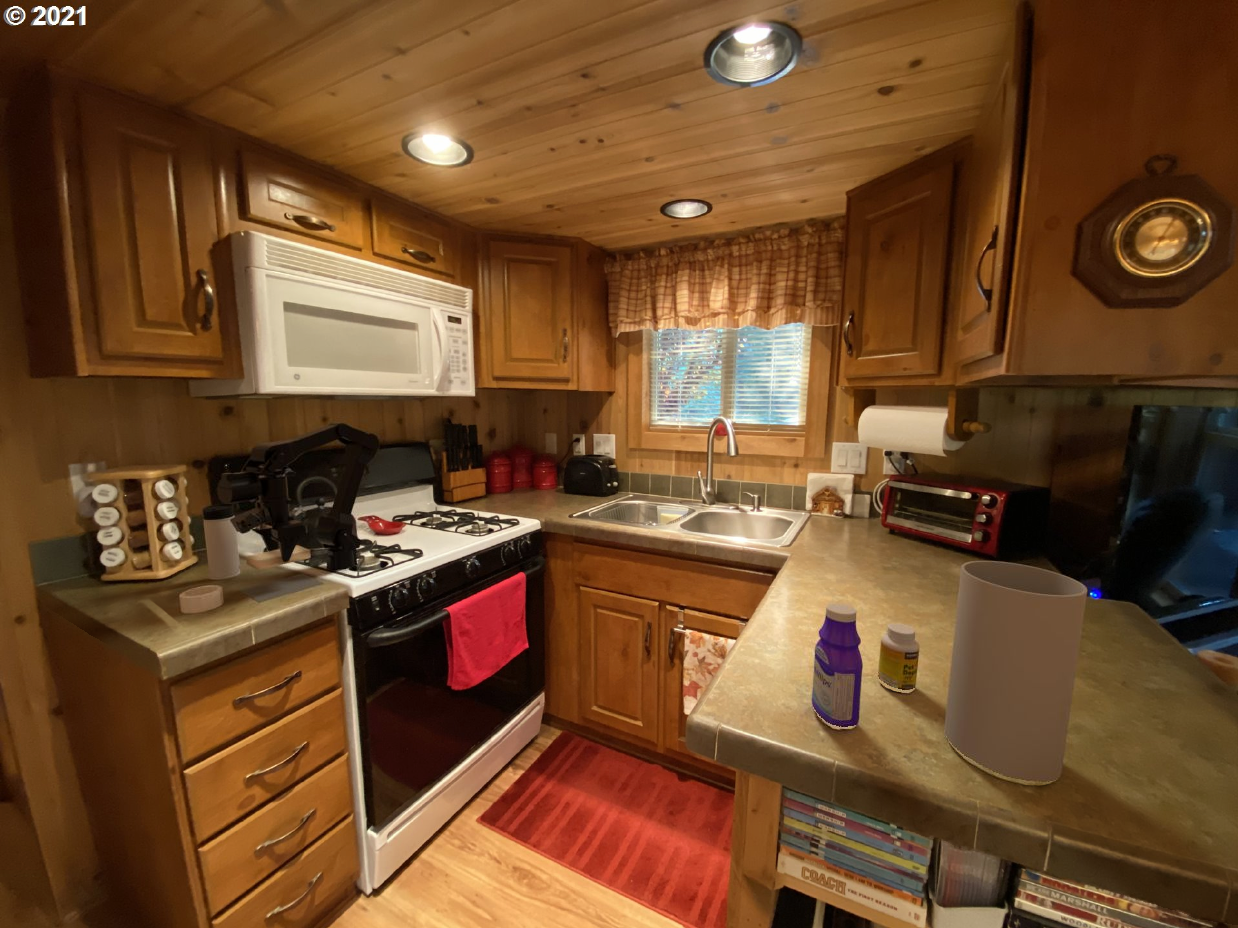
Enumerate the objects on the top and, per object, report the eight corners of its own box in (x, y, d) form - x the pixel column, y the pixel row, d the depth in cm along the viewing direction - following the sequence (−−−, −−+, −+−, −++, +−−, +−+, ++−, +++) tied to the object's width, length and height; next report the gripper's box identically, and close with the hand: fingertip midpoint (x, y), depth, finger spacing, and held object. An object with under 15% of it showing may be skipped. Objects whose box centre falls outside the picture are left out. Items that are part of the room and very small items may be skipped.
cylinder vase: (973, 782, 61) (995, 592, 57) (927, 718, 73) (943, 558, 70) (1087, 796, 59) (1116, 600, 55) (1020, 727, 71) (1041, 563, 67)
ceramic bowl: (217, 601, 113) (215, 582, 113) (228, 608, 109) (226, 589, 109) (177, 612, 107) (175, 592, 107) (188, 620, 103) (185, 600, 103)
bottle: (804, 703, 76) (810, 598, 74) (838, 702, 77) (846, 597, 74) (827, 735, 69) (836, 620, 67) (865, 733, 69) (875, 618, 67)
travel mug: (248, 574, 130) (240, 502, 127) (226, 584, 124) (217, 507, 121) (226, 573, 131) (219, 501, 128) (203, 583, 124) (194, 506, 121)
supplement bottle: (902, 699, 77) (908, 639, 76) (870, 681, 82) (874, 624, 81) (922, 689, 80) (928, 631, 79) (890, 672, 85) (894, 617, 84)
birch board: (297, 552, 125) (297, 545, 124) (310, 557, 121) (310, 549, 121) (247, 564, 116) (246, 556, 115) (259, 570, 112) (258, 561, 112)
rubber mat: (302, 577, 129) (302, 573, 128) (324, 587, 122) (324, 583, 122) (239, 594, 117) (239, 590, 117) (259, 606, 110) (259, 602, 110)
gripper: (218, 497, 115) (224, 560, 117) (249, 507, 104) (256, 576, 106) (272, 490, 124) (277, 548, 126) (305, 498, 114) (311, 562, 116)
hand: (279, 558), depth 118 cm, fingers closed on birch board, 7 cm apart
